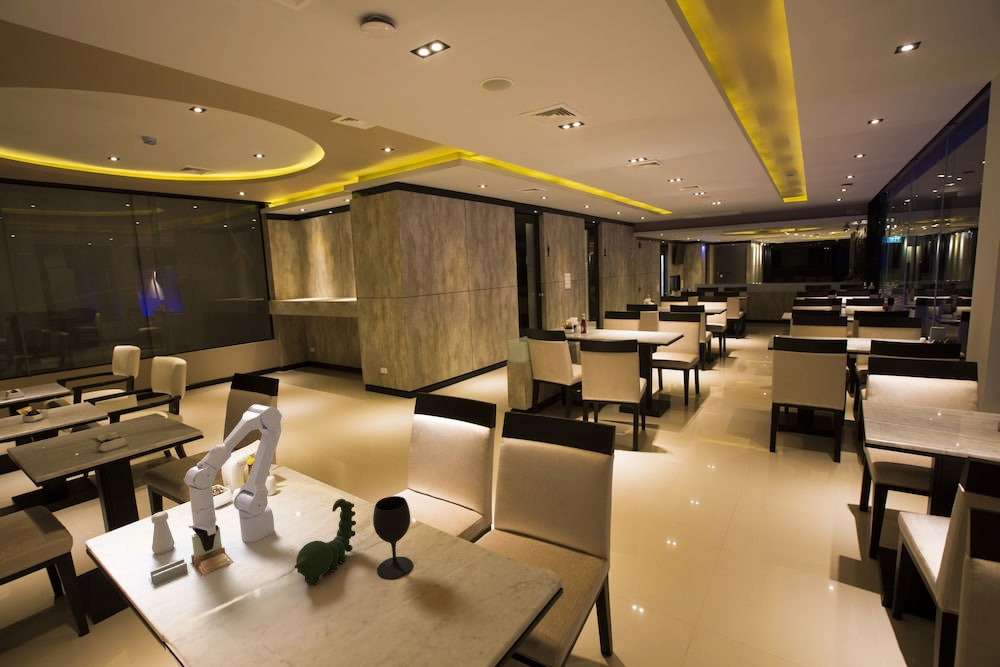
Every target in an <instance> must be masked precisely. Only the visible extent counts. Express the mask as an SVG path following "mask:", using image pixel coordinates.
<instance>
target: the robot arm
mask: <svg viewBox="0 0 1000 667" xmlns="http://www.w3.org/2000/svg"><path fill="white" fill-rule="evenodd" d="M242 414H243V415H242V418H241V419H240V420H239V422H238V423H237V424H236V426H235V427H234V428H233V430H232V431H231V432H230V433H229V435H228V436H227V437H226V438H225V439H224V440H223V442H221V443H220V444H216V445H214V446H213V447H210V448H209V449H208V453H207V454H206V455H205V456H204V457H203V458H202V459H201V460H200V461H198V462H197V463H196V466H193V467H191V468H190V469H188V470H187V472H186V473H185V477H184V478H183V482H184V484H186V485H187V486H188V490H189V500H190V509H191V516H192V518H191V519H192V522H190V523H189V524H188V528H189V529H192V530H193V531H194V534H197V535H198V536H199V538H200V540H201V542H202V546H203V549H204V550H205V552H206V551H208V550H211V549H213V545H214V539H215V535H216V532H217V530H218V526H219V525H217V524H216V523H217V516H216V510H215V502H214V493H213V483H214V482H215V480H216V476H217V474H218V472H219V471H220V469H221V468H222V467H223V466H224V465H225V464H226V463H227V462H228V460H229V459H230V458H231V457H232V450H233V449H234V448H236V446H237V445H238V444H239V443H240V442H242V440H243V439H244V438H245V437H246V436H247V435H248V434H249V433H250V432H251V431H255V430H259V432H260V433H261V437H260V441H259V444H258V446H257V450H256V453H255V456H254V460H253V462H252V465H251V468H250V469H251V470H250V472H249V474H248V475H249V476H248V479H247V481H246V482H245V483H244V484H242V485H241V487H240V489H239V491H238V493H237V494H236V495H235V496H234V499H233V506H234V508H235V509H237V510H238V515H239V516H238V517H239V525H240V533H241V534H240V535H241V541H242V542H243V543H253V542H256V541H259V540H261V539H263V538H265V537H267V536H269V535H272V534H274V533H275V532H276V531H275V520H274V513H273V510H272V508H271V507H270V506H268V495H269V491H268V490H269V489H268V488H267V485H266V482H267V479H268V476H269V473H270V471H271V466H272V464H273V460H274V456H275V453H276V450H277V446H278V444H279V440H280V436H281V434H282V425H281V424H282V423H281V422H282V417H283V414H282V413H281V412H280V410H279V409H278V408H277V407H275V406H269V405H263V404H259V403H256V404H255V403H254V404H253V405H251V406H249V408H248V409H247V411H245V412H243V413H242Z"/></svg>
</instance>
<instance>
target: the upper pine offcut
mask: <svg viewBox="0 0 1000 667" xmlns="http://www.w3.org/2000/svg"><path fill="white" fill-rule="evenodd" d="M225 561H227V557H226V556H225V554H224V553H222V554H219V555H217V556H215V557H212V558H210V559H207V560H205V561H202V562H201V566H202V568H203V569H204V570H206V569H209V568H211V567H214V566H216V565H218V564H221V563H223V562H225Z"/></svg>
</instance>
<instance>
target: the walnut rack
mask: <svg viewBox="0 0 1000 667" xmlns="http://www.w3.org/2000/svg"><path fill="white" fill-rule="evenodd" d="M221 545H222V548H219V549H217V550H214V551H212V552H209V553H207V554H204V555H202V556H199V557H197V558H194V553H193V554H191V555H190V558H191V559H190V560H191V562H190V563H189V564H190V566H191V567H192V569H193V570H194V571H195V573H196V574H197V575H198V577H199V578H201V577H203V576H206V575H208V574H210V573H213V572H215V571H217V570H220V569H222V568H225V567H227V566H229V565H232V564H234V563H235V561H233V559H232V558H231V557H230V556H229V555H228V554H227V553H226V548H225V546H223V544H222V543H221ZM222 553H224V554H225V555H226V557H227V558H228V559H229V560H230V563H229V564H227V565H225V566H222V567H220V568H218V569H215V570H213V571H211V572H208V573H206V574H202V572H201V571H200V570H199V566H200V565H201V562H202V561H205V560H207V559H210V558H212V557H215V556H217V555H219V554H222Z"/></svg>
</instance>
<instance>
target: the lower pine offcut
mask: <svg viewBox="0 0 1000 667" xmlns="http://www.w3.org/2000/svg"><path fill="white" fill-rule="evenodd" d="M225 556H226V555H225ZM229 563H230V560H229V559H228V558H227V561H225V562H223V563H221V564H218V565H216V566H214V567H211V568H209V569H206V570H204V569H203V568H202V566H201V565H200V566H199V570H200V571H201V572H202V574H206V573H208V572H211V571H213V570H215V569H218V568H220V567H222V566H225V565H227V564H229ZM229 565H230V564H229ZM227 566H228V565H227ZM225 567H226V566H225ZM222 568H223V567H222ZM220 569H221V568H220ZM218 570H219V569H218ZM215 571H216V570H215ZM213 572H214V571H213ZM211 573H212V572H211ZM208 574H209V573H208ZM206 575H207V574H206Z"/></svg>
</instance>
